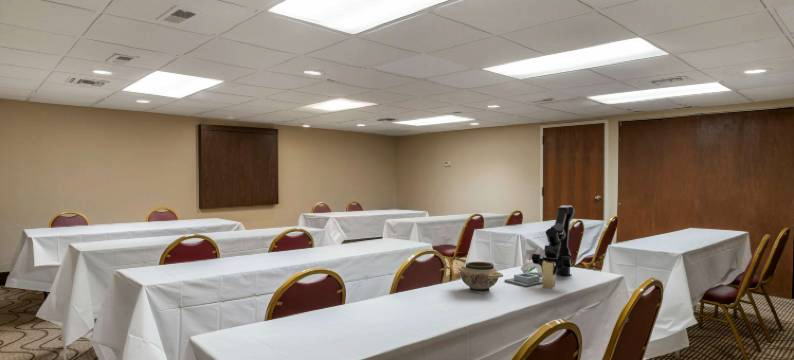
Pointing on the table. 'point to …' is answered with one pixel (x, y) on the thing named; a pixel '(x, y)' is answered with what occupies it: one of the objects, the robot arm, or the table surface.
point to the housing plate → (525, 280)
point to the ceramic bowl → (479, 276)
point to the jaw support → (531, 267)
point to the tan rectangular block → (548, 274)
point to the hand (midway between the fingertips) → (548, 274)
